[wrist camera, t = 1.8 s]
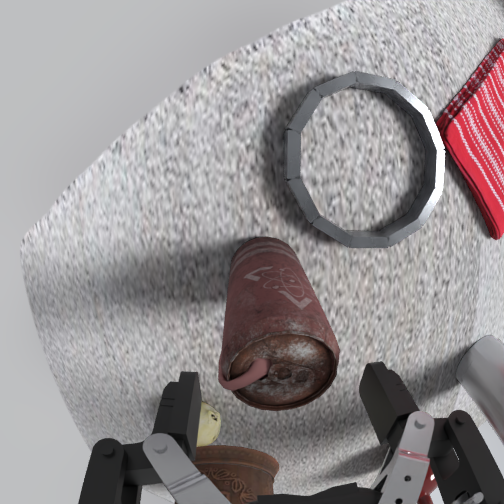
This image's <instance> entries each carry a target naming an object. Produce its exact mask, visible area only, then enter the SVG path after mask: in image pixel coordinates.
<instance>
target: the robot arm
mask: <svg viewBox="0 0 504 504" xmlns="http://www.w3.org/2000/svg"><path fill="white" fill-rule="evenodd" d="M456 378H457V379H458V381H459V382H460V383H461V385H462V386H463V387H464V389H465V390H466V391H467V393H468V394H469V396H470V397H471V398H472V400H473V401H474V403H475V404H476V405H477V407H478V408H479V410H480V411H481V412H482V414H483V415H484V417H485V418H486V420H487V421H488V422H489V424H490V425H491V427H492V428H493V430H494V431H495V433H496V434H497V436H498V437H499V439H500V440H501V442H502V443H503V445H504V343H503V342H502V341H501V340H500V339H496V338H495V337H494V336H492V335H488V336H485V337H483V338H481V339H480V340H479V341H477V342H476V343H475V344H474V345H473V346H472V347H471V348H470V349H469V350H468V351H467V353H466V354H465V355H464V357H463V358H462V360H461V361H460V363H459V365H458V368H457V371H456ZM359 393H360V397H361V399H362V401H363V404H364V406H365V408H366V411H367V413H368V415H369V418H370V420H371V423H372V425H373V427H374V430H375V432H376V435H377V437H378V440H379V442H380V445H383V444H386V443H389V445H390V448H389V449H388V452H387V454H386V457H385V459H384V462H383V464H382V466H381V469H380V471H379V473H378V475H377V477H376V479H375V481H374V483H373V484H372V486H371V487H370V489H369V488H363V487H357V483H356V482H354V483H350V484H345V485H340V486H335V487H332V488H329V489H327V490H325V491H322V492H319V493H317V494H314V495H311V496H300V495H289V494H273V495H257V500H256V501H252V502H249V503H246V504H417V501H418V498H419V495H420V493H421V490H422V486H423V483H424V480H425V477H426V474H427V470H428V466H429V464H430V467H431V469H432V472H433V474H434V477H435V480H436V482H437V485H438V488H439V490H440V493H441V496H442V499H443V501H444V504H504V479H503V476H502V474H501V472H500V470H499V468H498V466H497V464H496V462H495V460H494V458H493V456H492V454H491V452H490V450H489V449H488V446H487V445H486V443H485V441H484V439H483V437H482V435H481V434H480V432H479V430H478V428H477V427H476V425H475V423H474V421H473V420H472V418H471V416H470V415H469V414H468V413H467V412H465V411H462V410H456V411H453V412H452V413H451V414H450V415H449V417H448V418H433V417H432V416H431V415H430V414H428V413H427V412H424V411H420V410H419V409H418V407H417V405H416V403H415V402H414V400H413V398H412V396H411V395H410V393H409V391H408V390H407V388H406V386H405V385H404V384H403V381H402V380H401V378H400V376H399V375H398V374H396V373H395V372H394V371H393V370H388V369H387V368H386V366H385V364H384V363H383V362H382V361H380V362H374V363H368V364H367V365H366V367H365V370H364V373H363V376H362V379H361V382H360V386H359ZM201 403H202V397H201V389H200V383H199V377H198V373H197V372H183V371H182V372H181V374H180V378H179V382H169V384H168V385H167V386H166V387H165V388H164V390H163V394H162V399H161V401H160V406H159V409H158V413H157V417H156V421H155V424H154V428H153V432H152V434H151V435H150V436H149V437H147V438H146V439H145V441H143V442H140V443H135V444H125V445H122V444H121V443H120V442H119V441H117V440H115V439H111V438H105V439H102V440H100V441H98V442H97V443H96V444H95V445H94V447H93V450H92V453H91V457H90V460H89V464H88V468H87V471H86V475H85V478H84V482H83V486H82V491H81V495H80V499H79V503H78V504H140V500H141V491H142V485H149V484H157V483H163V484H164V485H165V487H166V488H167V490H168V491H169V492H170V494H171V495H172V496H173V498H174V499H175V500H176V502H177V503H178V504H231V503H230V502H229V501H228V500H227V499H226V497H225V496H224V495H223V494H222V493H221V492H220V491H219V490H218V489H217V488H216V487H215V486H214V484H213V483H212V482H211V481H210V480H209V479H208V478H207V477H206V476H205V475H204V474H202V473H200V472H199V471H198V469H197V468H196V467H195V466H194V465H193V463H192V462H191V461H195V456H196V447H197V438H198V429H199V421H200V412H201ZM453 448H454V449H453ZM454 450H455V451H454ZM455 452H456V453H455ZM456 454H457V456H458V458H459V460H458V458H457V456H456Z"/></svg>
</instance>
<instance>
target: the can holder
mask: <svg viewBox="0 0 504 504" xmlns="http://www.w3.org/2000/svg"><path fill="white" fill-rule="evenodd" d="M191 462H192V463H193V465H194V466H195V467H196V468H197V469H198V471H199V472H200V473H202V474H204V475H205V476H206V477H207V478H208V479H209V480H210V481H211V482H212V483H213V484H214V486H215V487H216V488H217V489H218V490H219V491H220V492H221V493H222V494H223V495H224V496H225V497H226V499H227V500H228V501H229V502H230V503H231V504H246V503H249V502H252V501H256V500H257V495H273V494H274V493H273V483H274V477H275V475H276V474H277V472H278V471H279V463H278V462H277V461H276V459H275V458H273V457H271V456H270V455H268V454H266V453H263V452H260V451H257V450H254V449H249V448H244V447H236V446H226V445H209V446H200V447H196V456H195V461H191ZM175 504H178V503H177V502H176V500H175Z"/></svg>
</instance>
